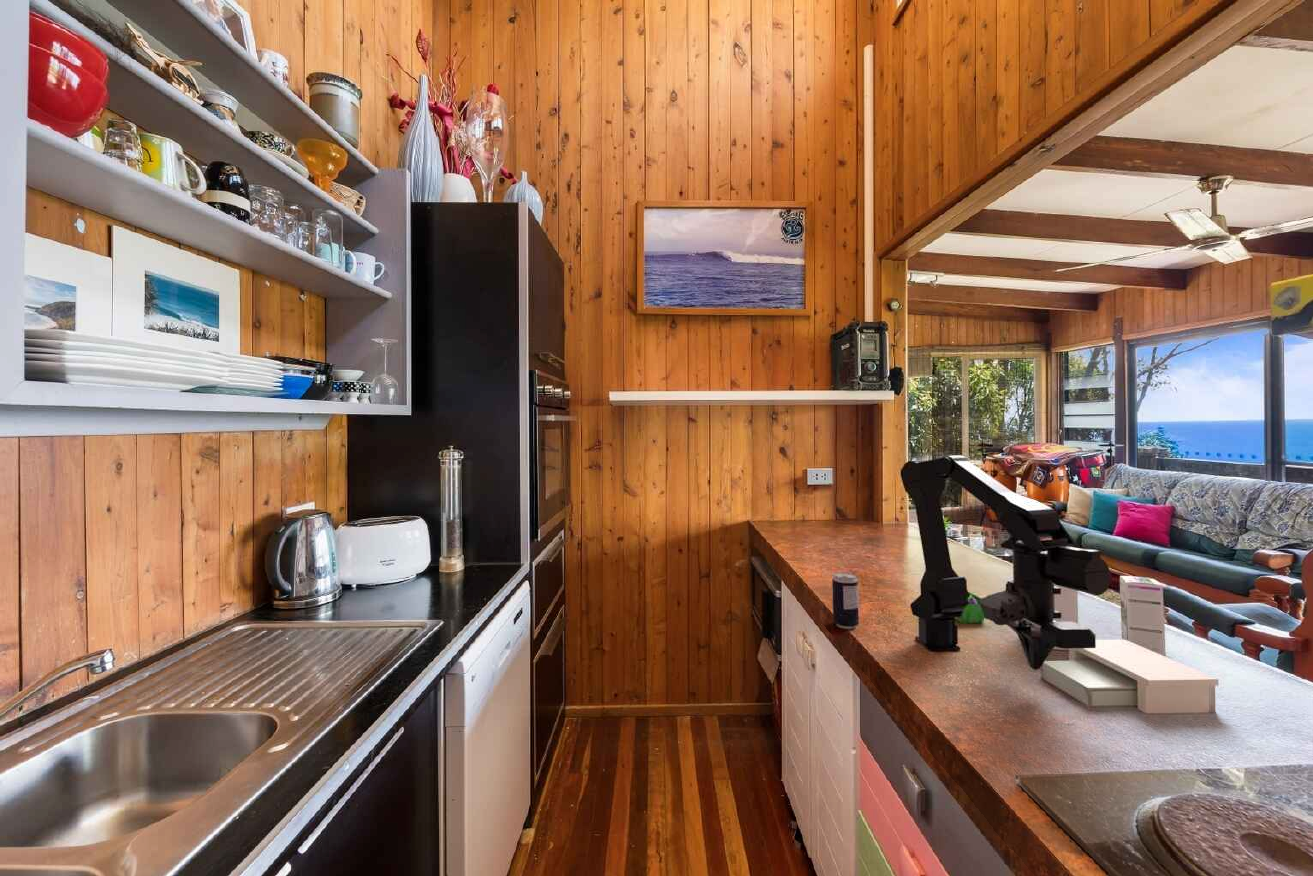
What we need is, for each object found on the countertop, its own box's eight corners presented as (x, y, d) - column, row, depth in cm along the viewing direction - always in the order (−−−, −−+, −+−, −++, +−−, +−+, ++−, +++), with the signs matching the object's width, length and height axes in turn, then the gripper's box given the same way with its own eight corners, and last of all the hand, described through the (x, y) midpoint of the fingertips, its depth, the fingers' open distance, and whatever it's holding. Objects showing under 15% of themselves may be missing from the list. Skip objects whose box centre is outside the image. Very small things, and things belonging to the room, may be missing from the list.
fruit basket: (992, 624, 119) (991, 576, 119) (954, 625, 119) (953, 577, 119) (963, 608, 130) (963, 565, 131) (929, 609, 131) (928, 565, 131)
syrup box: (1166, 658, 100) (1165, 585, 100) (1126, 652, 103) (1125, 581, 103) (1157, 648, 105) (1156, 578, 105) (1119, 642, 108) (1118, 574, 108)
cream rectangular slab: (1088, 706, 83) (1087, 687, 83) (1041, 677, 93) (1041, 661, 93) (1185, 704, 83) (1184, 686, 83) (1127, 675, 93) (1127, 659, 93)
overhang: (1149, 715, 80) (1148, 680, 80) (1067, 669, 96) (1066, 640, 96) (1219, 714, 80) (1218, 679, 80) (1125, 668, 96) (1124, 639, 96)
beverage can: (858, 622, 122) (857, 572, 122) (859, 631, 116) (858, 579, 116) (833, 620, 123) (832, 571, 124) (833, 628, 118) (832, 577, 118)
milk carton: (1078, 651, 104) (1077, 558, 104) (1039, 649, 105) (1038, 557, 105) (1058, 638, 111) (1057, 551, 111) (1022, 636, 112) (1020, 550, 112)
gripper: (955, 566, 97) (956, 647, 97) (1026, 595, 78) (1028, 696, 78) (1012, 565, 97) (1014, 646, 97) (1097, 594, 78) (1099, 695, 78)
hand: (1034, 668), depth 88 cm, fingers closed
